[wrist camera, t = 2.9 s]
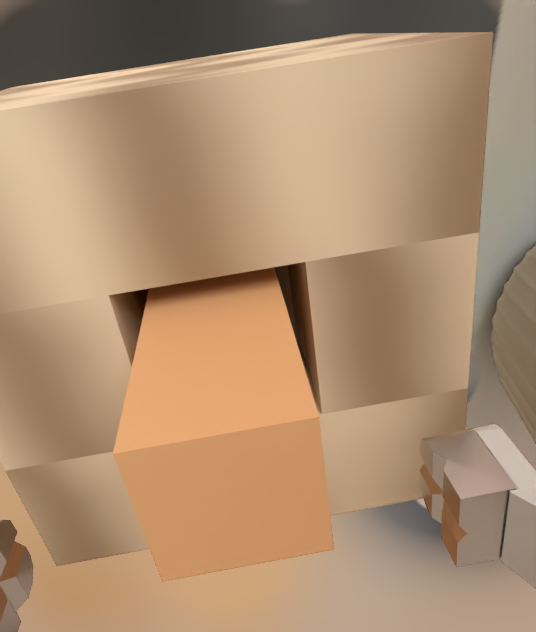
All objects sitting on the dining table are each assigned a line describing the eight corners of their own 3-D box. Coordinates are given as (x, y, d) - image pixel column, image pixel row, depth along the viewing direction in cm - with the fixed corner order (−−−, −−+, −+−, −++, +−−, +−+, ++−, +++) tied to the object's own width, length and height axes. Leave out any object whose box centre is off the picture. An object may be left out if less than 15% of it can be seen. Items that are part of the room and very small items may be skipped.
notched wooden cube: (351, 33, 21) (493, 32, 11) (365, 321, 28) (460, 491, 18) (15, 86, 21) (-175, 138, 10) (112, 365, 28) (56, 566, 17)
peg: (262, 227, 18) (319, 416, 9) (275, 317, 19) (333, 549, 11) (158, 245, 18) (112, 453, 9) (181, 334, 19) (162, 581, 11)
